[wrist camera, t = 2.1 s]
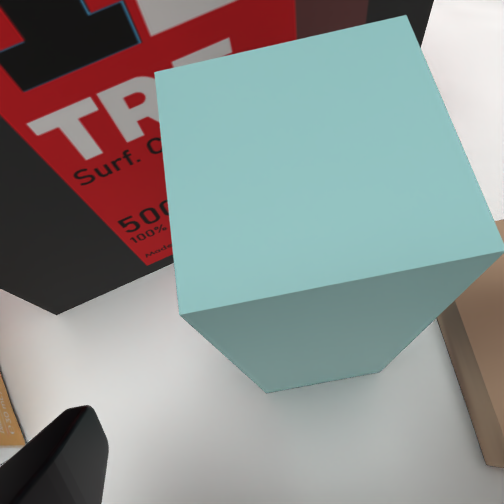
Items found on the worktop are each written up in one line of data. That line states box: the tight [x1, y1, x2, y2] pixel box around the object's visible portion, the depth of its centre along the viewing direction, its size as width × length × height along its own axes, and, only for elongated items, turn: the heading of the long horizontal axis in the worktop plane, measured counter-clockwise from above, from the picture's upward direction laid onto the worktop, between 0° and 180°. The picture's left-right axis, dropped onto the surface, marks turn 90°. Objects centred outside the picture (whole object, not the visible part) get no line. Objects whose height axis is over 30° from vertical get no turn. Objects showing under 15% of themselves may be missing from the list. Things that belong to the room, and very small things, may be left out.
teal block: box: [154, 15, 504, 393], centre depth 13 cm, size 4×4×12 cm
